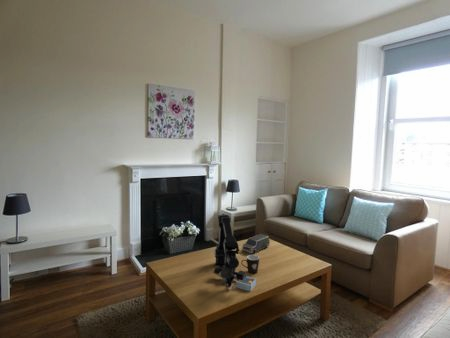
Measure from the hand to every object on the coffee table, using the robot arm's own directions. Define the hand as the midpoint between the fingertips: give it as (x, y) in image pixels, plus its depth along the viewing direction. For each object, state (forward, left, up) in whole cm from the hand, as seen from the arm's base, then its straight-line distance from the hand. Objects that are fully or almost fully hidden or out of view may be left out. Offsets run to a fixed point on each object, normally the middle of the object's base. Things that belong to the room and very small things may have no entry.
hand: (229, 286), depth 162 cm
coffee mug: (+2, +27, -2) cm, 27 cm away
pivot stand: (-6, +8, -2) cm, 10 cm away
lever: (-7, +4, 0) cm, 8 cm away
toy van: (-8, +66, -2) cm, 66 cm away
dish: (+7, +8, -2) cm, 11 cm away
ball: (+10, +8, 0) cm, 13 cm away
